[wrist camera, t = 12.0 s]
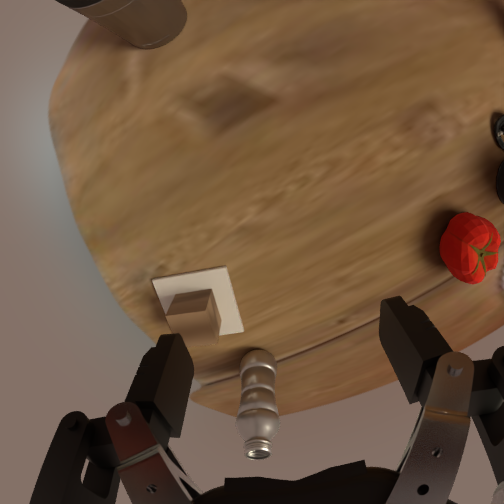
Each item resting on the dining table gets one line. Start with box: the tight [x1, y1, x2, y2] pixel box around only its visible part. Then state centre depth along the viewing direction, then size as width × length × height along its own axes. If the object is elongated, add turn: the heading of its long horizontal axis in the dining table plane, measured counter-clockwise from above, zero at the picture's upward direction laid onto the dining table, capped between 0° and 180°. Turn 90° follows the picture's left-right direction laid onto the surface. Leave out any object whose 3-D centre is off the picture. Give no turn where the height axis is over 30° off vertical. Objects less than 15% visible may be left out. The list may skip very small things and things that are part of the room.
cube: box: [165, 289, 222, 347], centre depth 42 cm, size 6×6×6 cm
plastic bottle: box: [236, 350, 280, 460], centre depth 40 cm, size 6×7×20 cm
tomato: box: [440, 212, 501, 284], centre depth 36 cm, size 11×12×9 cm
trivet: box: [152, 266, 244, 335], centre depth 45 cm, size 12×12×1 cm
